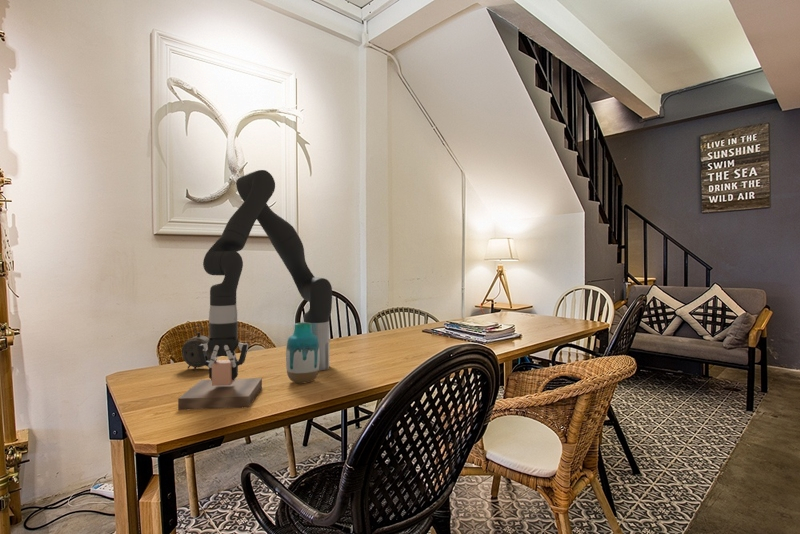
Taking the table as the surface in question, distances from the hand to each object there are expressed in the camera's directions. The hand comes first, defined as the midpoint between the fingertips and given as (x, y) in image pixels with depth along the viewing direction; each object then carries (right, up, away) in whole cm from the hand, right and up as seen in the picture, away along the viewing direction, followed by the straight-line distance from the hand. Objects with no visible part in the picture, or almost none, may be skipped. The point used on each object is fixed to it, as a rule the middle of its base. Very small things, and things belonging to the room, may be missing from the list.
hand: (223, 379), depth 124 cm
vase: (+19, -5, +16) cm, 26 cm away
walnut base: (0, -5, 0) cm, 5 cm away
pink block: (0, -1, 0) cm, 1 cm away
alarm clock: (-22, -5, +32) cm, 39 cm away
